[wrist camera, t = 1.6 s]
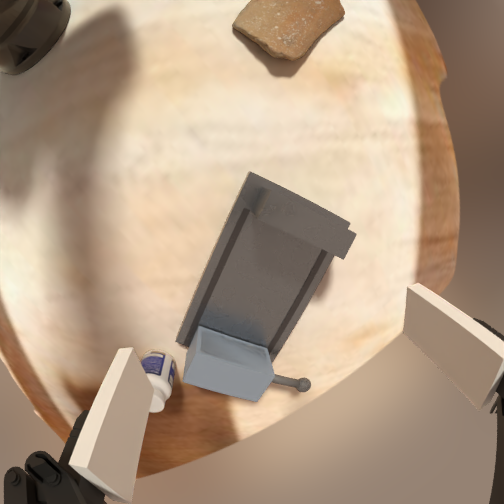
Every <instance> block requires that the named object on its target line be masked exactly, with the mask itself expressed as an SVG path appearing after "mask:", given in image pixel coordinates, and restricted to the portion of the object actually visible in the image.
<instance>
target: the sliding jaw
mask: <svg viewBox="0 0 504 504" xmlns="http://www.w3.org/2000/svg"><path fill="white" fill-rule="evenodd" d="M183 382H185V383H188V384H191V385H194V386H198V387H201V388H204V389H208V390H211V391H215V392H218V393H222V394H226V395H230V396H234V397H238V398H242V399H246V400H251V401H255V402H257V401H258V400H259V399H260V397H261V396H262V394H263V393H264V392H265V390H266V389H267V387H268V386H269V385H270V383H271V382H273V383H277V384H281V385H286V386H291V387H295V388H296V389H297V390H298V391H299V392H306V391H308V390H309V389H310V387H311V383H310V381H309V380H308V379H307V378H300V379H298V380H297V379H293V378H288V377H284V376H280V375H276V374H274V370H273V367H272V363H271V360H270V356H269V352H268V349H267V348H265V347H261V346H258V345H255V344H252V343H248V342H245V341H242V340H239V339H236V338H233V337H230V336H227V335H224V334H221V333H218V332H215V331H213V330H210V329H207V328H204V327H201V326H198V329H197V331H196V333H195V335H194V338H193V340H192V342H191V344H190V347H189V349H188V351H187V354H186V361H185V368H184V375H183Z"/></svg>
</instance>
